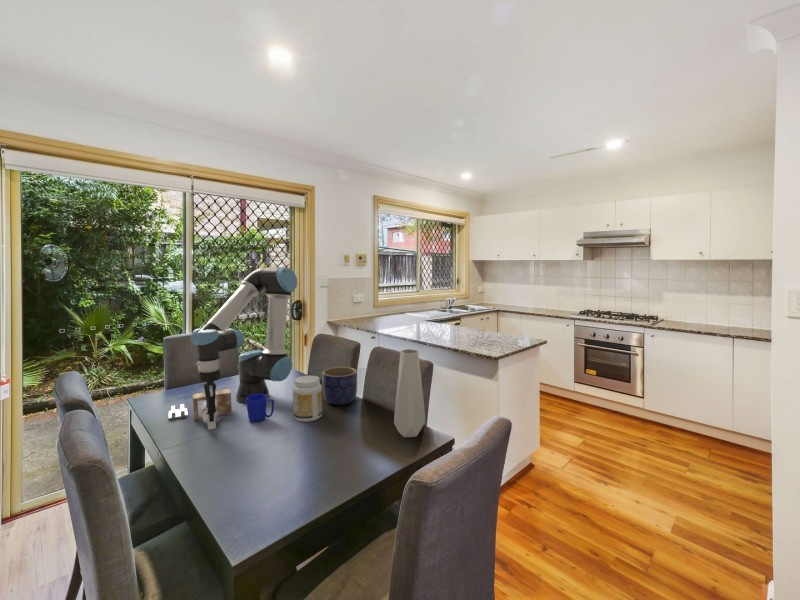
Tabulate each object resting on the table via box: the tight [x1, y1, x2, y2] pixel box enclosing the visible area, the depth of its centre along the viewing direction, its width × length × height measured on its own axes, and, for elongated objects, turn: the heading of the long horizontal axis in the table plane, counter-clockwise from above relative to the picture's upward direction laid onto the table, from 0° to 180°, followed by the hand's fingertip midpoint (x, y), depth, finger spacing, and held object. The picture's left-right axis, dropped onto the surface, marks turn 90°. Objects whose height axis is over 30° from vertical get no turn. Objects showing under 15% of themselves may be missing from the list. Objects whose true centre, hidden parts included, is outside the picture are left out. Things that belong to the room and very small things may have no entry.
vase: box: [393, 348, 426, 438], centre depth 145 cm, size 12×12×33 cm
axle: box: [200, 401, 221, 427], centre depth 159 cm, size 6×15×6 cm, turn 32°
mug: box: [245, 394, 275, 423], centre depth 158 cm, size 8×12×10 cm
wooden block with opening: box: [192, 388, 233, 421], centre depth 164 cm, size 14×6×10 cm, turn 121°
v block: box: [168, 403, 189, 421], centre depth 164 cm, size 7×9×3 cm
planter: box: [321, 366, 358, 406], centre depth 180 cm, size 16×16×15 cm
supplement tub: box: [292, 375, 323, 423], centre depth 162 cm, size 12×12×17 cm
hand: (211, 428), depth 148 cm, fingers closed
